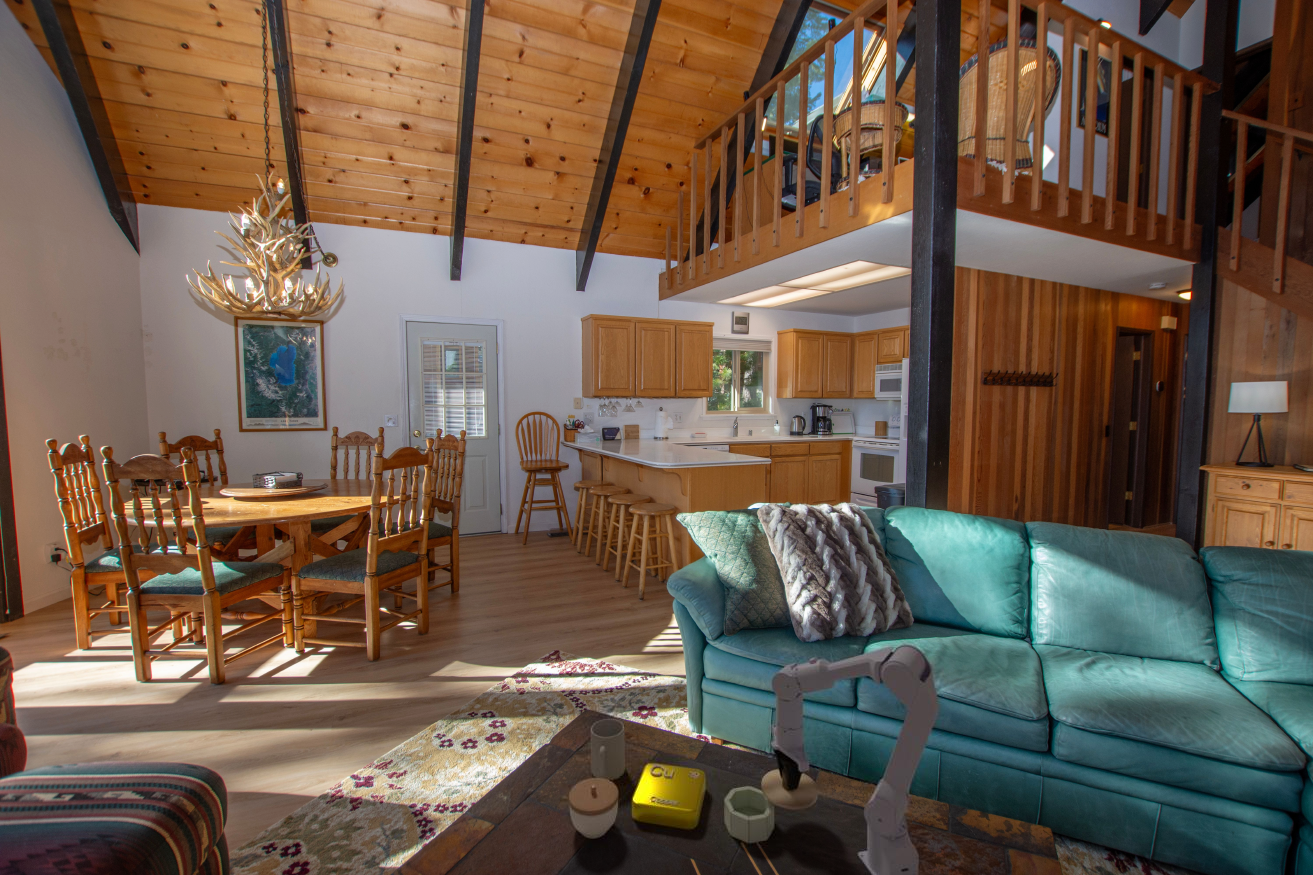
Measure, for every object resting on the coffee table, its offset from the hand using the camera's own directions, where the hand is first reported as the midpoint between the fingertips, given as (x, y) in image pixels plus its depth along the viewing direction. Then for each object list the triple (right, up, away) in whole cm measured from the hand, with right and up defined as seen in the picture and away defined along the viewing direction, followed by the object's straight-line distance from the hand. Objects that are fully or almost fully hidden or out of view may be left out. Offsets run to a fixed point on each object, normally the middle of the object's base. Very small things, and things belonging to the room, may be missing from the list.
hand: (789, 782), depth 123 cm
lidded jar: (-43, -10, -1) cm, 44 cm away
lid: (0, -2, 0) cm, 2 cm away
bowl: (-9, -9, 0) cm, 12 cm away
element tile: (-26, -9, +7) cm, 28 cm away
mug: (-41, -9, +17) cm, 46 cm away
